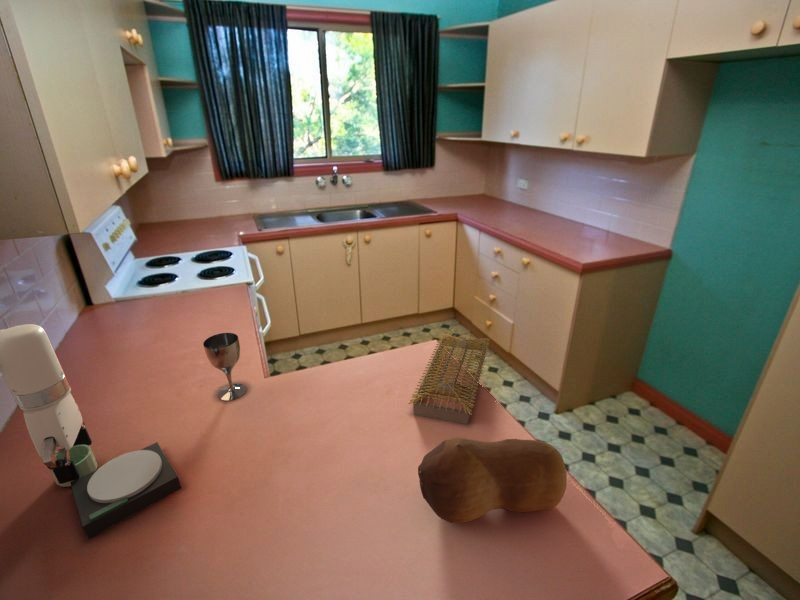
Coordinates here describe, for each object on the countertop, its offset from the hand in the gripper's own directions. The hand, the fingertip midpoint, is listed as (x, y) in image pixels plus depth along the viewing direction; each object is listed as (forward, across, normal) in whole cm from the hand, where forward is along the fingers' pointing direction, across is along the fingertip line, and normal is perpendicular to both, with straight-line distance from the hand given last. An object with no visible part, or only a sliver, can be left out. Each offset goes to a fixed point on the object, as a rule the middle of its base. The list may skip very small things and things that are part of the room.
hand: (77, 462), depth 84 cm
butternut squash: (-3, +35, +58) cm, 67 cm away
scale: (+3, +9, +9) cm, 13 cm away
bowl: (+3, 0, -1) cm, 3 cm away
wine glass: (+4, -16, +29) cm, 34 cm away
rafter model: (+5, +2, +83) cm, 83 cm away
